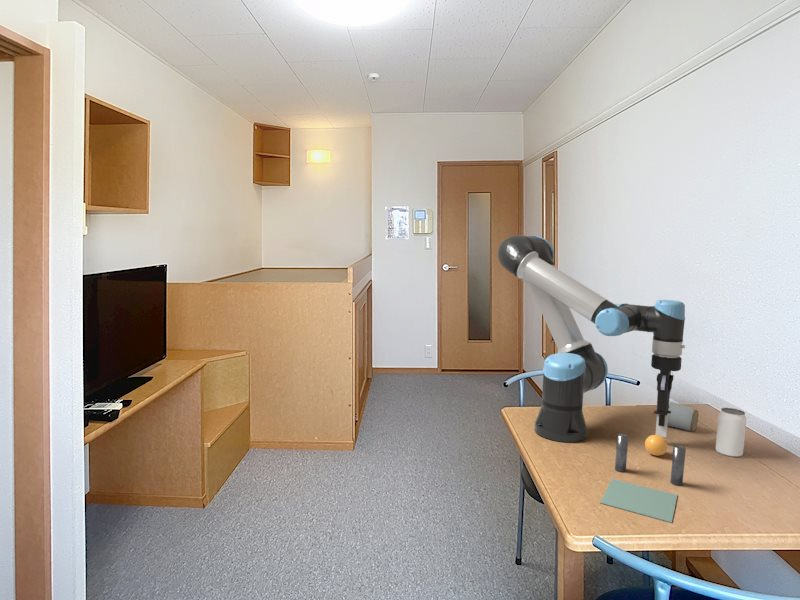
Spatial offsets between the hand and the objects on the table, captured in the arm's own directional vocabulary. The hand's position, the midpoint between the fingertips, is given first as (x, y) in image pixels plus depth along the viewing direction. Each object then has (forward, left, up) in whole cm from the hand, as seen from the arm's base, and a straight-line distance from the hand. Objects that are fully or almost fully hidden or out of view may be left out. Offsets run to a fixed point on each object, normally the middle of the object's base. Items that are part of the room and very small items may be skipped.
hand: (660, 435), depth 148 cm
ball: (0, -9, 0) cm, 9 cm away
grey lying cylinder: (+4, +20, -3) cm, 21 cm away
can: (+17, +5, -3) cm, 18 cm away
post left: (-7, -25, -3) cm, 26 cm away
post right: (+6, -25, -3) cm, 26 cm away
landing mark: (0, -39, -3) cm, 39 cm away
